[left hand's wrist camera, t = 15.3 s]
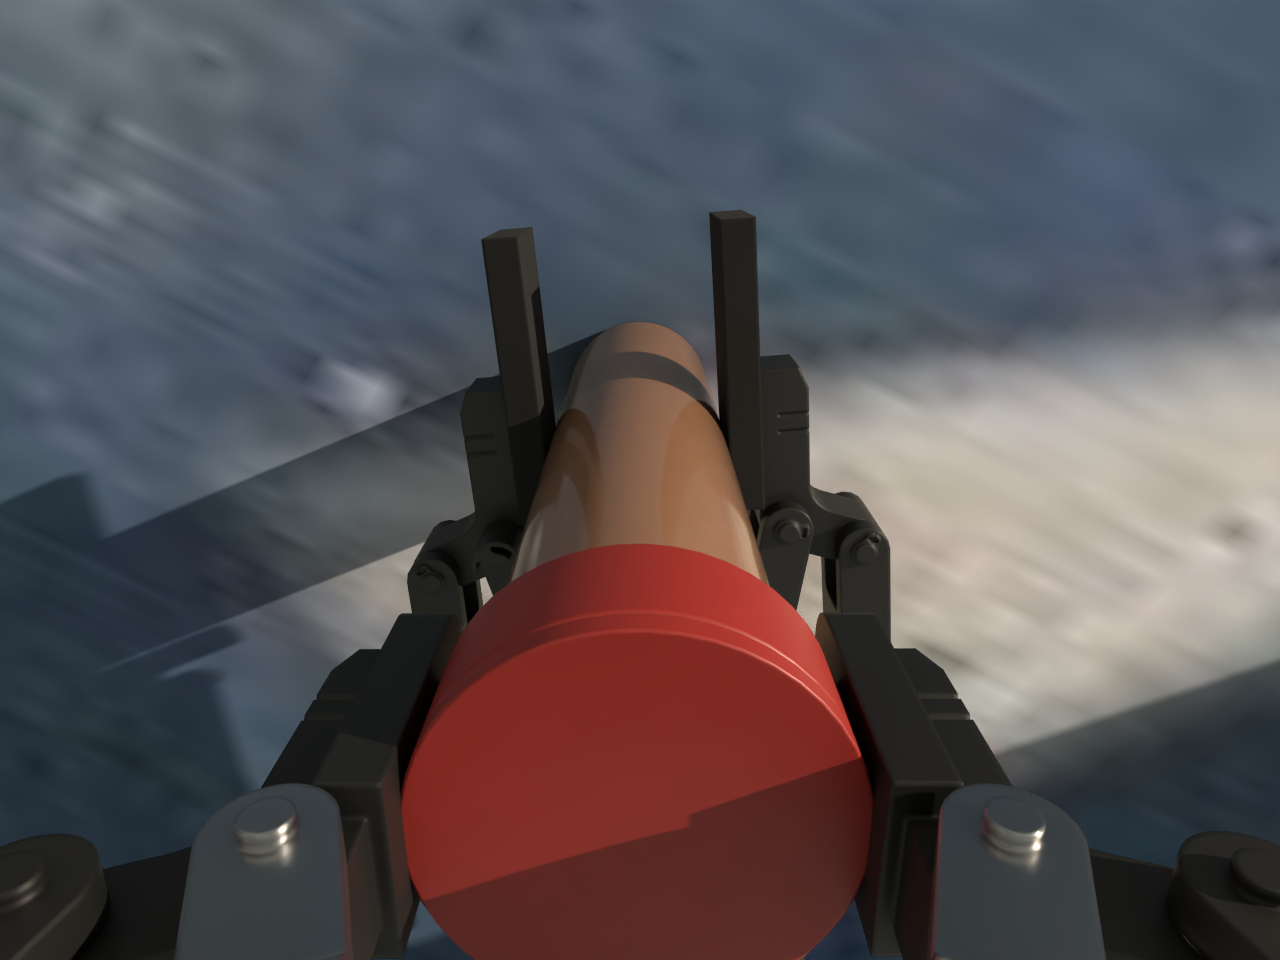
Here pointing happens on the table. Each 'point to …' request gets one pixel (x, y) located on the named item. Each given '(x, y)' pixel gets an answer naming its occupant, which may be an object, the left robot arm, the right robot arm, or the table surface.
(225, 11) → the table surface
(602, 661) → the lid
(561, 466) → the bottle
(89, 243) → the table surface
